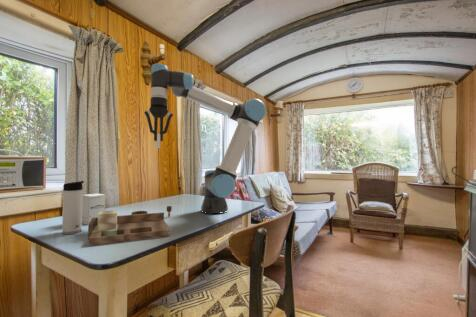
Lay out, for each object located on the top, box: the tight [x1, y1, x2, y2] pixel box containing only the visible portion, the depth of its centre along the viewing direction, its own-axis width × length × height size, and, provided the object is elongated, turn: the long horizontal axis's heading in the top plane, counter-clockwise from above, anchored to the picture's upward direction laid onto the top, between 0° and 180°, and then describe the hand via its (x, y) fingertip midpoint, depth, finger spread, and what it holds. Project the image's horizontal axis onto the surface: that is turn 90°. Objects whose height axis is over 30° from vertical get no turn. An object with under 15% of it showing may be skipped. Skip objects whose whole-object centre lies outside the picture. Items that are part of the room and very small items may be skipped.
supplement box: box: [82, 193, 106, 226], centre depth 107 cm, size 7×7×13 cm
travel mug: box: [61, 180, 85, 236], centre depth 93 cm, size 6×7×20 cm
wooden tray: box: [87, 212, 170, 247], centre depth 92 cm, size 27×17×6 cm, turn 115°
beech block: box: [98, 209, 118, 231], centre depth 91 cm, size 6×6×6 cm
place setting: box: [130, 205, 173, 218], centre depth 111 cm, size 18×20×6 cm
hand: (158, 148), depth 111 cm, fingers closed
